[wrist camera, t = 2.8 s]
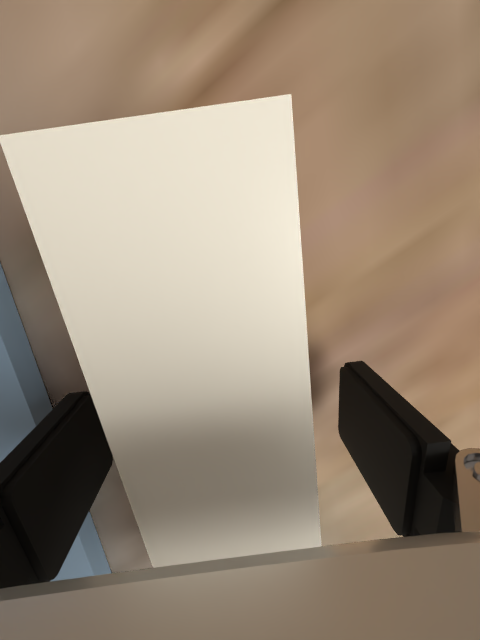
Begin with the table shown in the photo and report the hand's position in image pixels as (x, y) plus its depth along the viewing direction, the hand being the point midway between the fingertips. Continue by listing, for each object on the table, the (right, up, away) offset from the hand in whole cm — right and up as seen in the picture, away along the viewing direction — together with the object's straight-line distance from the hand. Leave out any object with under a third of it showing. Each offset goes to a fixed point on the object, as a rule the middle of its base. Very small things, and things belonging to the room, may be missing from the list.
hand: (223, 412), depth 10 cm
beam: (0, 0, +2) cm, 2 cm away
